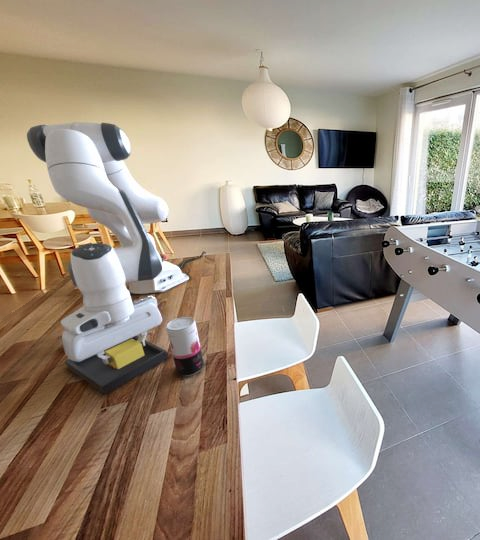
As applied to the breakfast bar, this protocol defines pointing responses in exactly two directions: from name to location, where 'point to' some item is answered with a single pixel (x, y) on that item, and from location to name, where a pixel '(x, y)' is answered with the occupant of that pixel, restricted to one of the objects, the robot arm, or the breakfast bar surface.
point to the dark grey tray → (112, 378)
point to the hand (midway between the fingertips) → (125, 354)
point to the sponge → (125, 353)
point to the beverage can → (185, 346)
